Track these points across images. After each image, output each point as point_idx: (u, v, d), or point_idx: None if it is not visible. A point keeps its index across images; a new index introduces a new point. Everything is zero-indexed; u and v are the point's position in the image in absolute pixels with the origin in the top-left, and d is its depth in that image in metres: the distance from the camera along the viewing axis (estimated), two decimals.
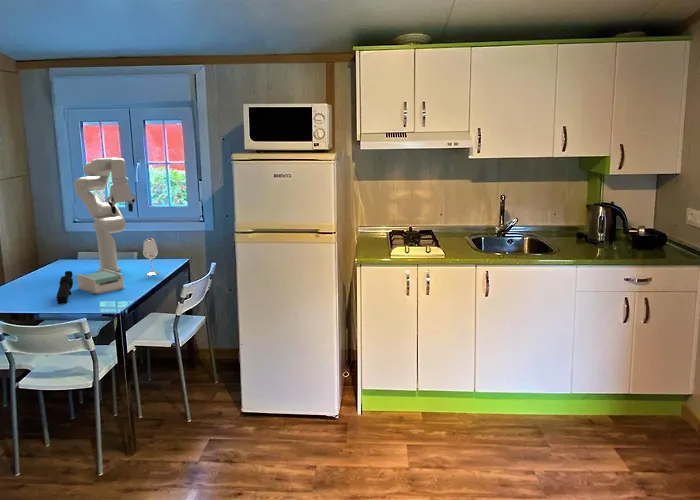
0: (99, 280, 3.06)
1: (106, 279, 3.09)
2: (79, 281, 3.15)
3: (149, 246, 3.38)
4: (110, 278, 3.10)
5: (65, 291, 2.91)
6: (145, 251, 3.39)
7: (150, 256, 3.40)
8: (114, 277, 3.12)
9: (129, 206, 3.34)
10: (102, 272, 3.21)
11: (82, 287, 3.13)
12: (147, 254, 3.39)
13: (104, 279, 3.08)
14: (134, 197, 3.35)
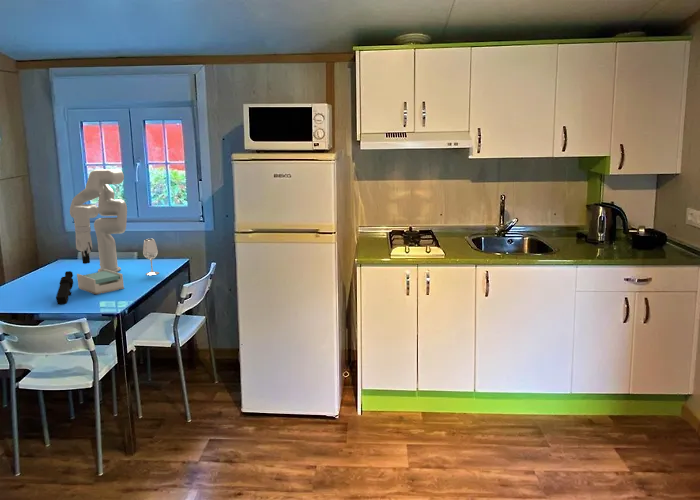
0: (99, 280, 3.06)
1: (106, 279, 3.09)
2: (79, 281, 3.15)
3: (149, 246, 3.38)
4: (110, 278, 3.10)
5: (65, 291, 2.90)
6: (145, 251, 3.39)
7: (150, 256, 3.40)
8: (114, 277, 3.12)
9: None
10: (102, 272, 3.21)
11: (82, 287, 3.13)
12: (147, 254, 3.39)
13: (104, 279, 3.08)
14: None
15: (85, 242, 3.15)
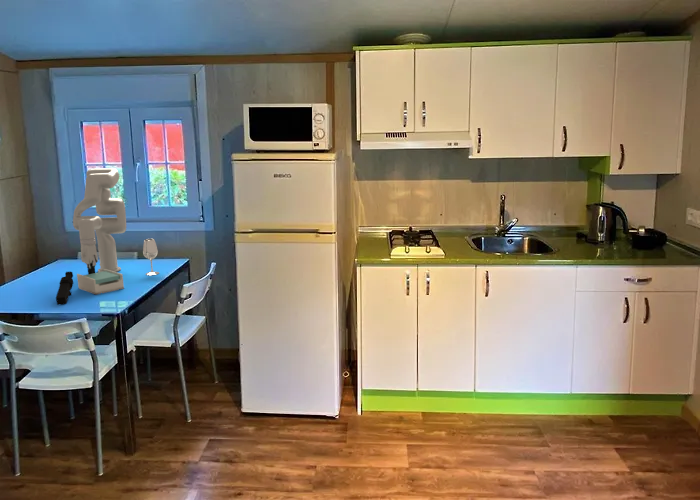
0: (99, 280, 3.06)
1: (106, 279, 3.08)
2: (79, 281, 3.15)
3: (149, 246, 3.38)
4: (110, 278, 3.10)
5: (65, 292, 2.90)
6: (145, 251, 3.39)
7: (150, 256, 3.40)
8: (114, 277, 3.11)
9: None
10: (102, 272, 3.20)
11: (82, 287, 3.13)
12: (147, 254, 3.39)
13: (104, 279, 3.08)
14: None
15: (90, 255, 3.14)
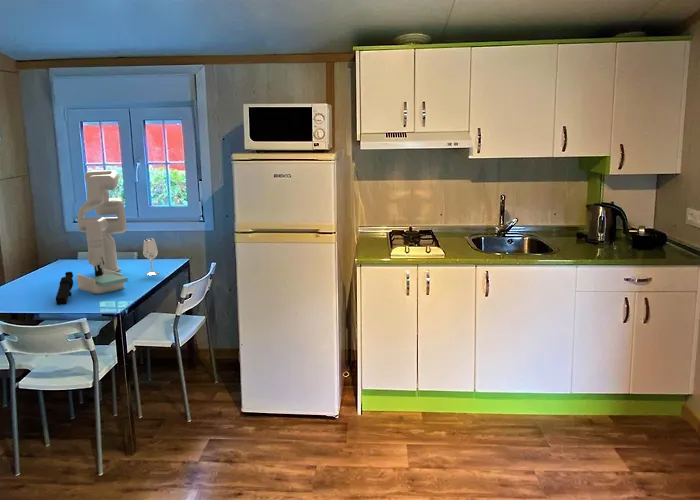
0: (107, 283, 3.00)
1: (114, 282, 3.03)
2: (79, 281, 3.15)
3: (149, 246, 3.38)
4: (118, 281, 3.04)
5: (64, 292, 2.90)
6: (145, 251, 3.39)
7: (150, 256, 3.40)
8: (122, 280, 3.06)
9: None
10: (110, 274, 3.15)
11: (82, 287, 3.13)
12: (147, 254, 3.39)
13: (112, 282, 3.02)
14: None
15: (98, 257, 3.08)
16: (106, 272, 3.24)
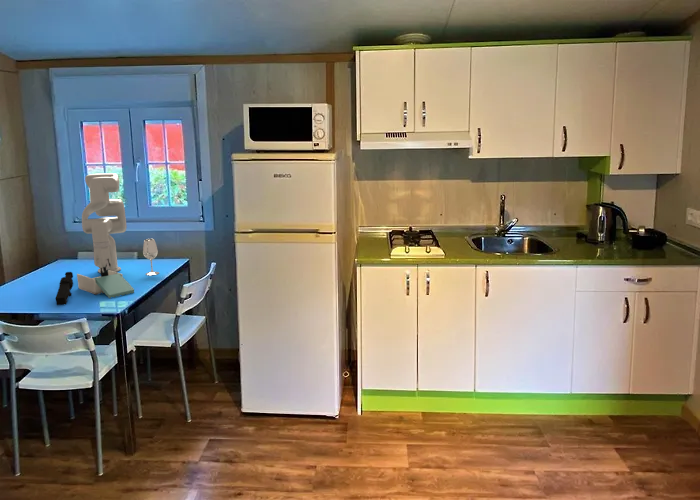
0: (114, 294, 2.97)
1: (121, 293, 3.00)
2: (79, 281, 3.15)
3: (149, 246, 3.38)
4: (125, 292, 3.02)
5: (64, 292, 2.89)
6: (145, 251, 3.39)
7: (150, 256, 3.40)
8: (129, 291, 3.03)
9: None
10: (117, 276, 3.10)
11: (82, 287, 3.13)
12: (147, 254, 3.39)
13: (119, 293, 2.99)
14: None
15: (104, 258, 3.03)
16: None
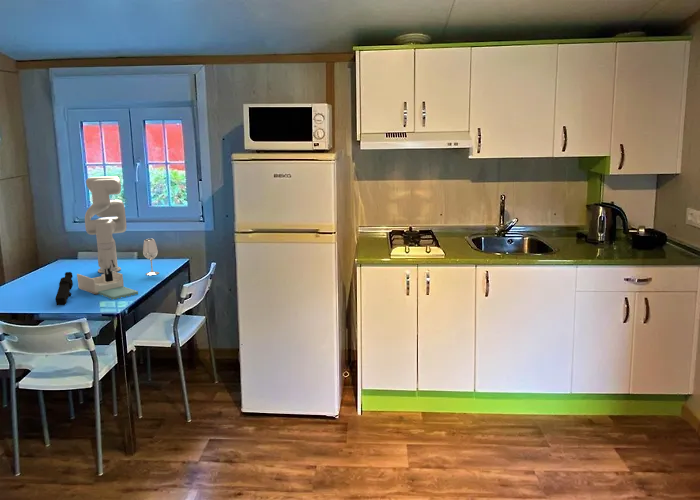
0: (118, 297, 2.95)
1: (125, 295, 2.98)
2: (79, 281, 3.15)
3: (149, 246, 3.38)
4: (129, 294, 2.99)
5: (64, 292, 2.89)
6: (145, 251, 3.39)
7: (150, 256, 3.40)
8: (133, 293, 3.01)
9: None
10: (120, 287, 3.10)
11: (82, 287, 3.13)
12: (147, 254, 3.39)
13: (123, 295, 2.97)
14: None
15: (108, 260, 3.01)
16: None
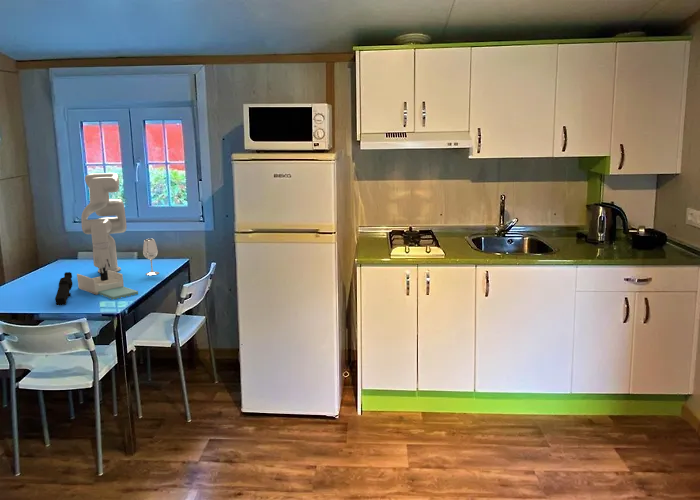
0: (118, 297, 2.95)
1: (125, 295, 2.98)
2: (79, 281, 3.15)
3: (149, 246, 3.38)
4: (129, 294, 2.99)
5: (64, 293, 2.89)
6: (145, 251, 3.39)
7: (150, 256, 3.40)
8: (133, 293, 3.01)
9: None
10: (120, 287, 3.10)
11: (82, 287, 3.13)
12: (147, 254, 3.39)
13: (123, 295, 2.97)
14: None
15: (103, 259, 3.04)
16: None
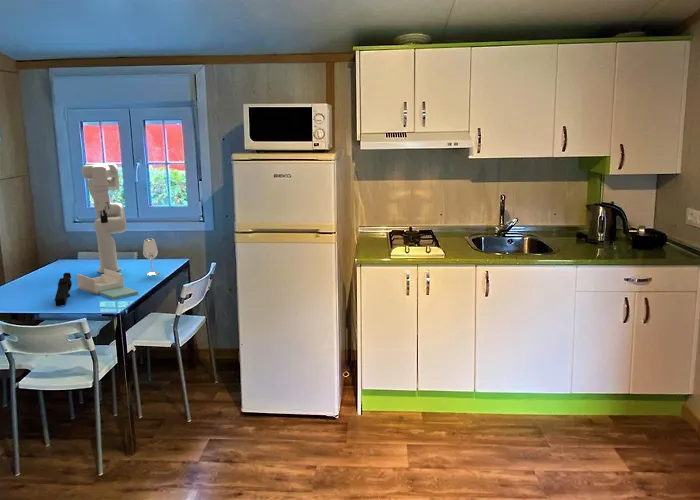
0: (118, 297, 2.95)
1: (125, 295, 2.98)
2: (79, 281, 3.15)
3: (149, 246, 3.38)
4: (129, 294, 2.99)
5: (63, 293, 2.88)
6: (145, 251, 3.39)
7: (150, 256, 3.40)
8: (133, 293, 3.01)
9: None
10: (120, 287, 3.10)
11: (82, 287, 3.13)
12: (147, 254, 3.39)
13: (123, 295, 2.97)
14: None
15: (103, 201, 3.20)
16: (106, 272, 3.24)
